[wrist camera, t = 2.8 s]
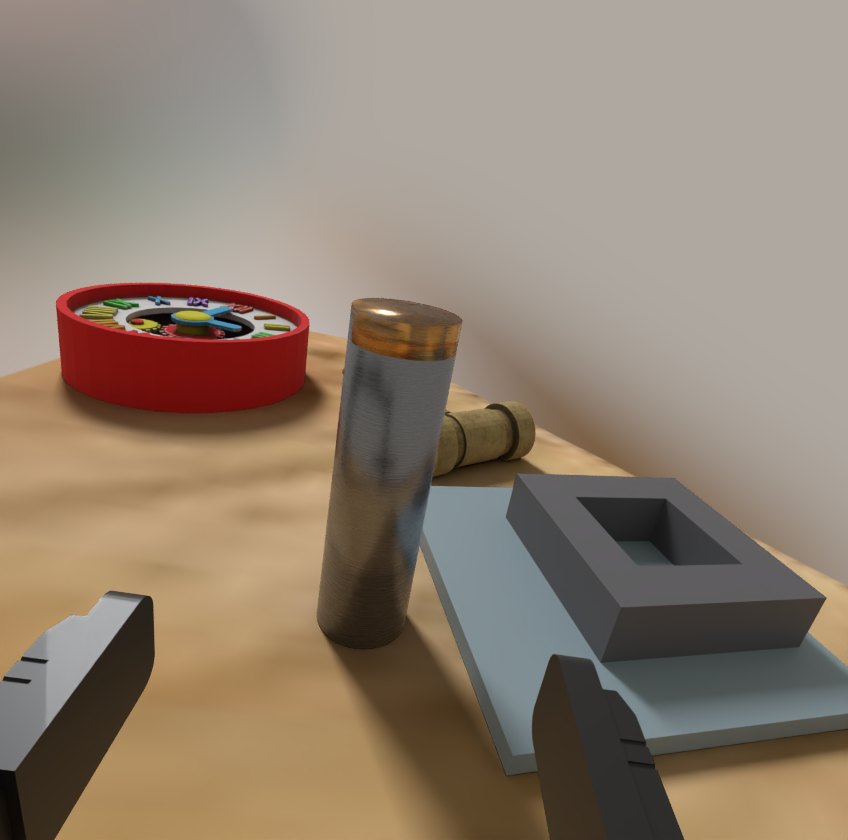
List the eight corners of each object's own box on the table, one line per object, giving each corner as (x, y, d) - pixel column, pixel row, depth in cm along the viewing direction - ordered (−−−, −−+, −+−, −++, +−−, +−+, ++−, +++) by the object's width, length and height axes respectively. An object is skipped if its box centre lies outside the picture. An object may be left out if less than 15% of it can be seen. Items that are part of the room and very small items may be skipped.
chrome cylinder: (319, 652, 23) (359, 318, 17) (314, 586, 26) (345, 293, 21) (413, 646, 24) (477, 331, 19) (396, 584, 27) (445, 305, 22)
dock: (506, 775, 19) (533, 691, 18) (402, 498, 35) (412, 442, 33) (882, 724, 24) (929, 655, 23) (642, 502, 40) (660, 453, 38)
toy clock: (-13, 301, 40) (166, 275, 59) (-3, 376, 42) (166, 328, 61) (235, 360, 37) (342, 313, 55) (232, 438, 39) (336, 368, 58)
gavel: (299, 349, 51) (389, 346, 57) (297, 396, 52) (384, 388, 58) (440, 427, 36) (541, 411, 42) (431, 490, 37) (530, 466, 43)
